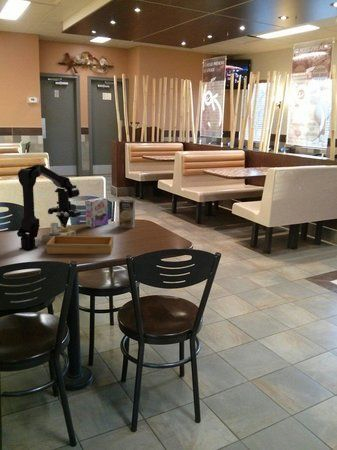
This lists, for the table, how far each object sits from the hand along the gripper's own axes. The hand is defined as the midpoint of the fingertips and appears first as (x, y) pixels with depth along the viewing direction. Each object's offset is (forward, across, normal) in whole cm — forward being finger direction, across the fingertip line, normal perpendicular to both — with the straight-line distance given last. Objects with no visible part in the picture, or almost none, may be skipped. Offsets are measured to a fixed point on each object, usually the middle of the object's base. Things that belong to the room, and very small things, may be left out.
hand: (64, 227), depth 225 cm
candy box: (+5, -1, -29) cm, 30 cm away
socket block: (+5, 0, +5) cm, 7 cm away
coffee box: (+5, -19, -35) cm, 40 cm away
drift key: (+5, 0, 0) cm, 5 cm away
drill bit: (+5, 0, +8) cm, 10 cm away
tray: (+6, -23, +16) cm, 29 cm away
